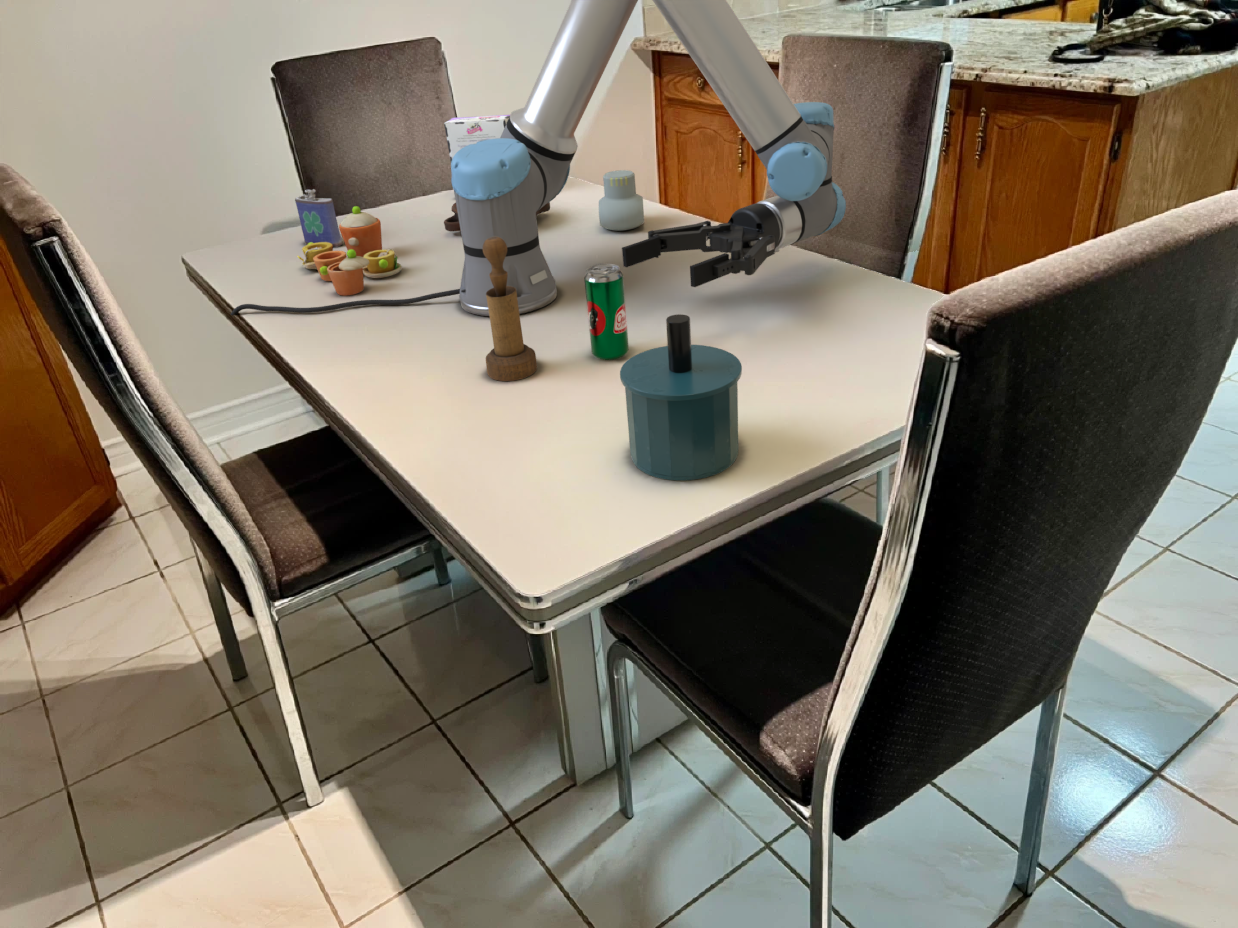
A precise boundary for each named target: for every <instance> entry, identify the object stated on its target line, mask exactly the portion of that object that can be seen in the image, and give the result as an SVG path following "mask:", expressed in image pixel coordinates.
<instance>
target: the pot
mask: <svg viewBox="0 0 1238 928" xmlns="http://www.w3.org/2000/svg"><path fill="white" fill-rule="evenodd" d="M624 391H625V392H624V393H625V402H626V403H625V404H626V414H627V415H626V416H627V428H628V440H629V452H630V457H631V460H632V463H633V465H634V466H635V467H636V468H637V469H638V470H640V472H642V473H644V474H645V475H648V476H651V477H653V478H657V479H661V480H668V481H681V482H682V481H683V482H684V481H695V480H702V479H705V478H710V477H713V476H716V475H717V474H720V473H722V472H724V471H725V470H727V469H730V467H731V466H732V465H733V464H734V463H736V460H737V458H738V456H739V408H738V407H739V404H738V403H739V398H738V395H739V394H738V392H739V391H738V382H737V383H736V384H734V385H733V386H732V387H730V388H729V389H727V390H725V391H723V392H720V393H718V394H715V395H712V396H708V397H704V398H699V399H692V400H680V401H669V400H658V399H651V398H647V397H643V396H640V395H637V394H635V393H633V392H631V391H629V390H628V389H627V388H626V387H625V386H624Z"/></svg>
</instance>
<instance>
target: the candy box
mask: <svg viewBox="0 0 1238 928" xmlns="http://www.w3.org/2000/svg"><path fill="white" fill-rule="evenodd" d="M509 117H510V114H498V115H497V114H496V115H480V116H477V115H476V116H461V117H451V118H450V119H448V120H447V121H445V122H443V126H444V131H445V137H446V142H447V149H448V155H449V161H450V162H451V161H452V158H453V157H454V155H455V154H456V153H457V152H458V151H459V150H460V149H462V148H464V147H465V146H468V145H470V144H476V143H477V142H479V141H483V140H488V139H496V138H500V137H501V135H502V133H503V130H504V128H505V126H506V123H507V121H508V119H509Z"/></svg>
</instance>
